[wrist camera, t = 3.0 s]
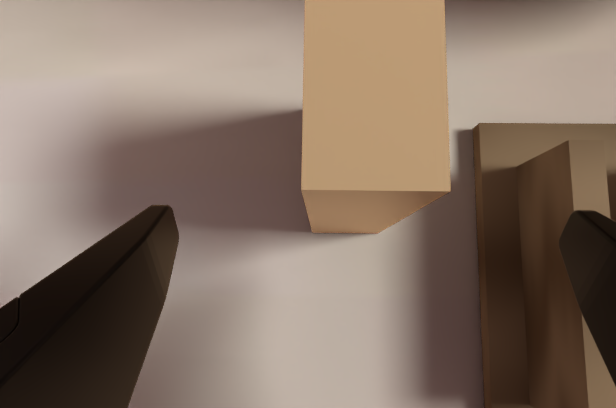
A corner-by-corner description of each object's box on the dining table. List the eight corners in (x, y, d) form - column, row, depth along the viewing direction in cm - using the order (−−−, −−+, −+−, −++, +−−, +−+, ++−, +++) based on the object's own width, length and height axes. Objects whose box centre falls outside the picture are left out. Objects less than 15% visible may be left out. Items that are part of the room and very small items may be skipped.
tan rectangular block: (377, 233, 19) (450, 191, 8) (312, 232, 19) (301, 189, 9) (376, 108, 20) (441, -76, 9) (314, 108, 20) (306, -75, 9)
